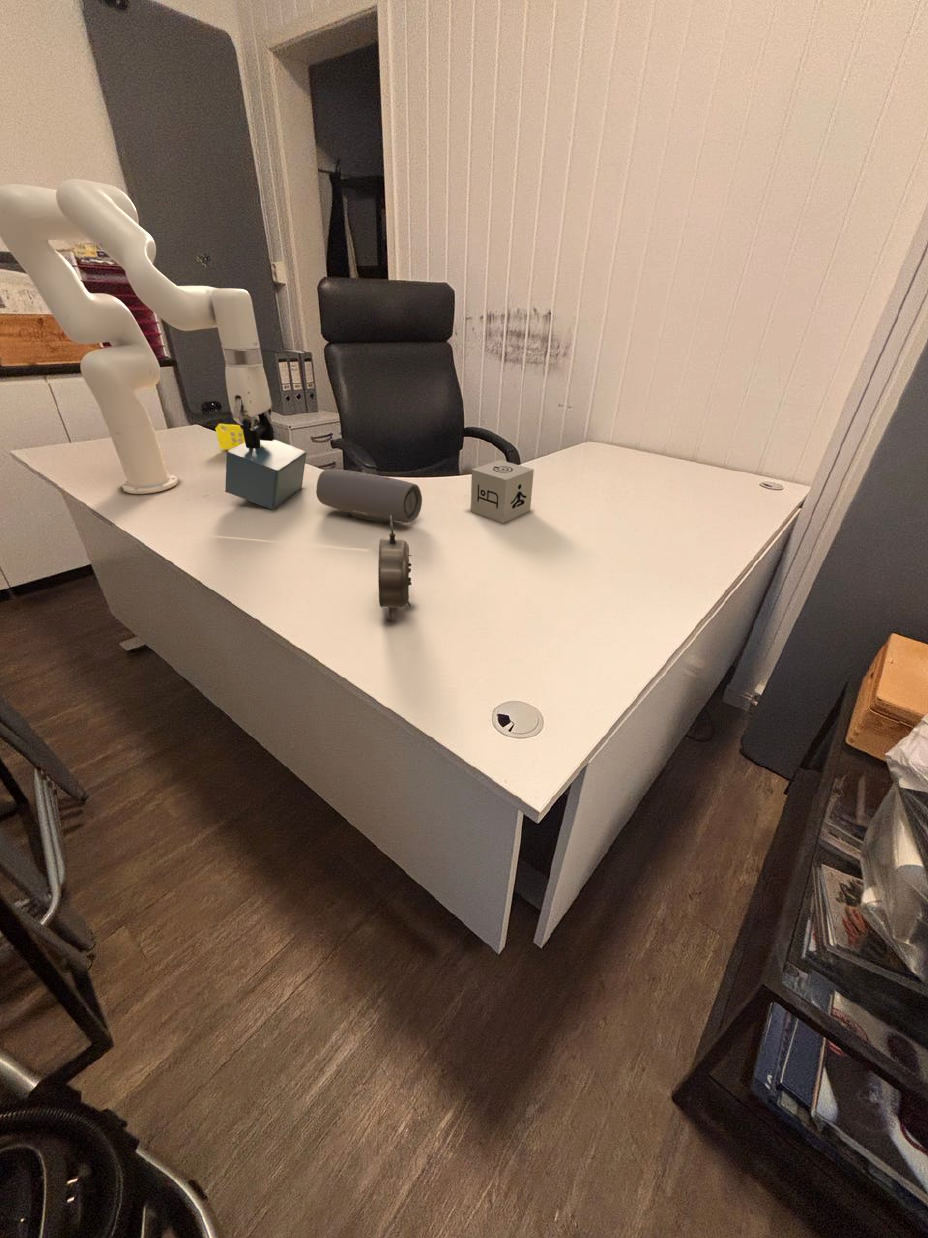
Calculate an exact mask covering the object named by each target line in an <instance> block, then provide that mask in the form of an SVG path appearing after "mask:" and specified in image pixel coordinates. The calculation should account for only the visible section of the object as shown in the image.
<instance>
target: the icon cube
mask: <svg viewBox="0 0 928 1238" xmlns="http://www.w3.org/2000/svg"><path fill="white" fill-rule="evenodd" d="M534 472H535V469H534V468H531V467H527V466H524V465H519V464H516V463H512V462H509V461H506V460H502V459H498V460H496V461H492V462H489V463H487V464H483V465H481V466H480V465H479V466H476V467H475V468H472V469H471V484H470V485H471V486H470V487H471V488H470V512H472V513H474V514H478V515H480V516H483V517H486V518H488V519H491V520H493V521H497V522H498V523H499V522H500V523H502V524H505V523H507V522H509V521H511V520H514V519H516V518H518V517H520V516H522V515H525V514H527V513H529V512H530V511H531V505H532V494H533V484H534V474H535V473H534Z"/></svg>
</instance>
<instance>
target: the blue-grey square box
mask: <svg viewBox="0 0 928 1238" xmlns="http://www.w3.org/2000/svg"><path fill="white" fill-rule="evenodd" d="M255 430H257V433H258V438H259V443H260V448H259V449H255V448H247V447H246V444H245V442H244V443H242V444H240V445H238V446H236V447H235V448H233V449H231V450H226V459H225V460H226V461H225V463H226V464H225V488H224V489H225V491H224V492H225V493H228V494H230V495H233V496H235V497H238V498H241V499H243V500H246V501H249V502H251V503H254V504H256V505H258V506H262V507H264V508H267V509H270V510H272V511H275V510H276V509H278V508H279V507H280V506H281V505H283V504H284V503H285V502H286V501H288V500H289V499H290V498H291V497H292V496H294V495H295V494H296V493H298V492H299V491H300V490H301V489H302V488H303V483H304V482H303V481H304V474H305V466H306V459H307V451H305V450H303V449H300V448H298V447H295V446H292V445H290V444H287V443H285V442H282V441H279V440H277V439H274V440H273V441H263V440H261V434H263V433H264V432H265V427H264V426H263V425H261V424H259V425H257V424H256V425H255Z"/></svg>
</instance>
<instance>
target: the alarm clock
mask: <svg viewBox="0 0 928 1238" xmlns="http://www.w3.org/2000/svg"><path fill="white" fill-rule="evenodd" d="M393 522H394V521H392V516H390V522H389V525H390V533H389V534H388V535H389V536H388V537H389V538H380V540H379V544H378V564H377V565H378V566H377V567H378V571H377V573H378V577H377V578H378V579H377V580H378V581H377V582H378V603H379V607H380V608H387V609H388V622H390V623H391V622H393V613H394V608H404V607H405V606H407V605H408V606H409V607H410V608H411V607H412V604H411V603H410V601H409V599H410V595H409V593H410V592H409V591H410V590H409V588H410V587H409V586H412V582H411V581H412V577H410V573H411V571H412V568H410V567H412V563H411V562H410V557H412V554H410V546H409V544H408V542H407V541H406V540H404V539H398V538H397V539H396V533H395V532H394V524H393Z"/></svg>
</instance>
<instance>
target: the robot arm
mask: <svg viewBox="0 0 928 1238" xmlns="http://www.w3.org/2000/svg"><path fill="white" fill-rule="evenodd" d="M139 224H140V219H139V214H138V211H137V208H136V207H135V205H134V203H133V202H132V200H131V198H130V197H129V196H127V194H126V193H125V192H124V191H123V190H121V189H119V188H118V187H116V186H114V185H111V184H108V183H104V182H99V181H94V180H87V179H82V178H69V179H65V180H63V181H62V182H60V184H58V186H57V188H56V189H54V188H49V187H48V188H46V187H43V186H37V185H30V184H21V183H8V184H3V185H0V239H1V241H2V243H3V244H4V246H5V247H6V248H7V250H8V251H9V252H10V254H11V255H12V256H13V258H14V259H15V260H16V261H17V263H18V264H19V265H20V267H21V268H22V269H23V270H24V272H25V274H27V276H28V277H29V279H30V280H31V282H32V283H33V285H34V287H35V289H36V290H37V292H38V294H39V295H40V297H41V298H42V300H43V302H44V303H45V305H46V306H47V308H48V310H49V311H50V313H51V315H52V316H53V318H54V319H55V321H56V323H57V324H58V326H59V327H60V329H61V330H62V332H63V333H64V334H65V336H67V338H68V339H69V340H71V341H72V342H74V343H76V344H80V345H94V344H103V343H109V345H110V346H111V347H103V348H98V349H94V350H92V351H89V352H88V353H86V354H85V355H84V356H83V357H82V359H81V360H80V373H81V375H82V378H83V380H84V383H86V385H87V387H88V389H89V390H90V392H91V394H92V396H93V397H94V400H95V401H96V404H97V406H98V407H99V410H100V412H101V415H102V417H103V419H104V423H105V425H106V427H107V430H108V433H109V436H110V438H111V441H112V443H113V447H114V449H115V452H116V454H117V456H118V459H119V462H120V465H121V468H122V470H123V473H124V476H125V478H126V480H125V481H123V482H122V484H121V487H122V490H123V491H124V492H125V493H127V494H135V495H144V494H145V495H148V494H155V493H160V492H163V491H167V490H170V489H171V488H174V487H175V486H176V485H177V484H178V481H179V480H178V478H177V477H176V475H173V474H169V471H168V467H167V465H166V462H165V458H164V455H163V452H162V449H161V445H160V443H159V440H158V437H157V434H156V431H155V428H154V424H153V422H152V421H153V420H152V419H151V416H150V413H149V411H148V409H147V407H146V406H145V404H144V403H143V401H141V400H140V398H139V397H138V396H137V395H136V393H135V392H138V391H142V390H145V389H150V388H152V387H154V386H156V385H157V384H158V383H159V382H160V380H161V377H162V373H161V372H162V371H161V366H160V363H159V360H158V358H157V357H156V355H155V353H154V351H153V349H152V347H151V346H150V344H149V342H148V340H147V338H146V336H145V335H144V333H143V331H142V329H141V327H140V326H139V324H138V322H137V320H136V319H135V317H134V315H133V313H132V312H131V310H129V308H128V307H127V306H126V305H125V304H124V303H123V302H122V301H121V300H120V299H118V298H117V297H115V296H113V295H112V294H108V293H101V292H100V293H99V292H97V293H95V292H94V293H91V292H89V290H87V288H86V287H85V285H84V284H83V282H82V280H81V279H80V277H79V275H78V273H77V271H76V270H75V268H74V267H73V266H72V264H71V263H70V262H69V261H68V260H67V259H66V258H65V257H64V256H63V255H62V254H61V253H60V252H59V251H57V249H55V248H54V247H53V246H52V245H51V244H50V243H49V240H51V241H62V242H64V241H66V242H77V243H78V242H79V243H83V242H84V243H87V242H92V243H93V244H94V245H95V246H97V247H98V248H99V249H100V250H101V251H102V252H103V253H104V254H106V256H108V257H109V258H110V259H112V260H113V261H114V262H115V263H116V264H117V265H118V266H120V267H121V268H122V269H123V271H124V272H125V276H126V279H127V281H128V283H129V285H130V287H131V288H132V290H133V292H134V294H135V295H136V296H137V298H138V300H140V302H142V303H143V305H145V306H146V307H147V308H148V309H149V310H150V311H152V312H153V313H154V314H155V315H156V316H157V317H159V318H160V319H161V320H162V321H164V322H165V323H167V324H168V325H170V326H171V327H173V328H176V329H177V330H180V331H184V332H190V331H197V330H207V329H215V328H217V330H218V335H219V339H220V344H221V350H222V354H223V358H224V363H225V367H224V369H225V370H224V371H225V372H224V374H225V386H226V392H227V397H228V404H229V408H230V413H231V415H232V419H233V420H234V422H236V423H237V425H239V426H240V428H241V430H243V435H244V439H245V444H246V447H247V448H255V449H259V448H260V443H259V438H258V433H257V430H255V426H257V425H259V424H261V425H263V426H264V427H265V432H264V433H263V434H261V440H263V441H273V440H275V438H274V434H273V433H274V432H273V428H272V427H273V426H272V417H271V415H272V409H273V401H272V399H271V393H270V388H269V384H268V380H267V375H266V372H265V368H264V361H263V356H262V350H261V346H260V345H261V344H260V340H259V339H260V338H259V334H258V328H257V323H256V317H255V312H254V306H253V305H254V304H253V300H252V297H251V295H250V293H249V292H248V291H247V290H246V289H243V288H232V287H231V288H229V287H228V288H227V287H226V288H225V287H224V288H223V287H222V288H218V287H212V286H208V285H176V284H175V283H174V282H172V281H171V280H170V279H169V278H168V277H166V276H165V275H164V274H163V273H162V272H160V271H159V270H158V269H157V268H156V267H155V266H154V262H155V259H156V255H157V245H156V242H155V240H154V238H153V237H152V236H151V234H150V233H148V231H146V229H144V228H143V227H141V226H140V225H139ZM255 417H256V419H257V421H258V422H256V424H255Z"/></svg>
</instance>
